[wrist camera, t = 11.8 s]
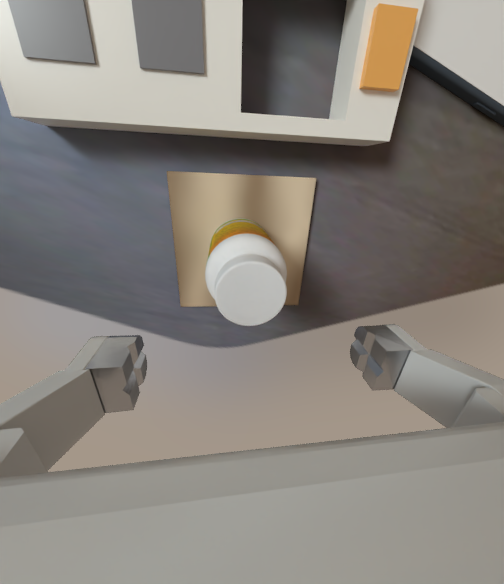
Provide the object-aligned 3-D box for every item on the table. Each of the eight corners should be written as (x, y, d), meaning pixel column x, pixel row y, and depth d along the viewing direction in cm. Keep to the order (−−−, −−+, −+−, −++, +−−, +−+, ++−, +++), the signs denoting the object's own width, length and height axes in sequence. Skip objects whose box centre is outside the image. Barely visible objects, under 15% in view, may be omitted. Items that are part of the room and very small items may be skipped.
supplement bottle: (200, 229, 20) (182, 268, 12) (259, 208, 20) (286, 232, 11) (222, 282, 23) (222, 348, 14) (275, 264, 23) (308, 319, 14)
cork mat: (181, 304, 24) (180, 306, 23) (167, 171, 19) (166, 171, 18) (297, 303, 25) (298, 304, 25) (314, 178, 20) (316, 177, 20)
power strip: (46, 126, 17) (4, 114, 13) (-11, -76, 13) (-88, -159, 10) (366, 146, 19) (394, 140, 16) (401, -15, 15) (446, -64, 12)
